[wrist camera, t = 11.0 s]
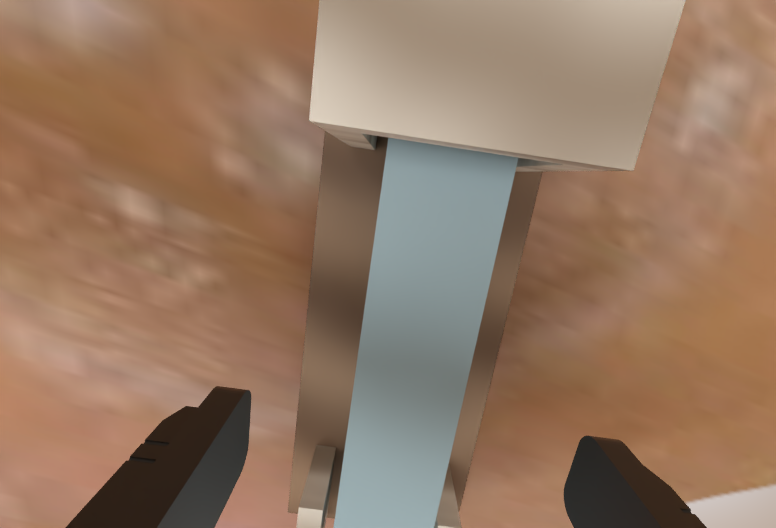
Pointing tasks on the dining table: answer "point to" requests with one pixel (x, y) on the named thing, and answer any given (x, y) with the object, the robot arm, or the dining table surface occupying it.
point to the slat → (419, 328)
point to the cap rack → (458, 130)
